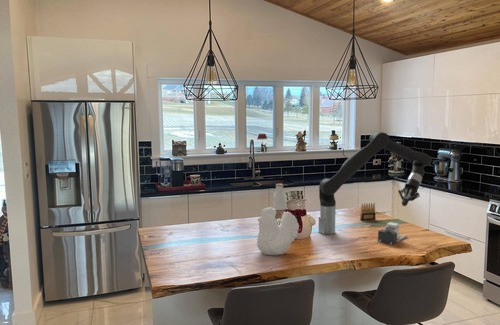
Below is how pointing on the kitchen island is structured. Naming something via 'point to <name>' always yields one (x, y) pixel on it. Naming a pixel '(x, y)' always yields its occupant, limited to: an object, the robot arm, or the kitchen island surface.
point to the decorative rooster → (276, 232)
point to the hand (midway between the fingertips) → (403, 205)
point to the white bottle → (279, 201)
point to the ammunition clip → (367, 212)
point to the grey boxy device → (389, 236)
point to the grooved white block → (394, 228)
